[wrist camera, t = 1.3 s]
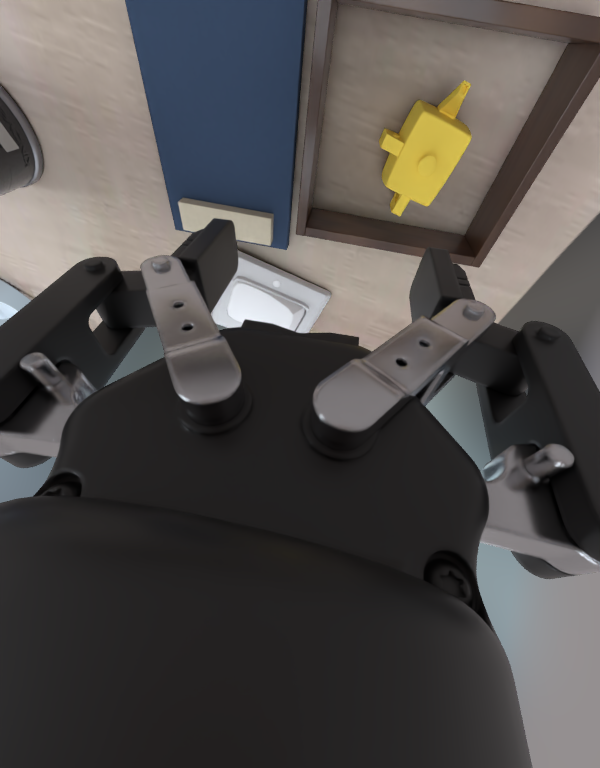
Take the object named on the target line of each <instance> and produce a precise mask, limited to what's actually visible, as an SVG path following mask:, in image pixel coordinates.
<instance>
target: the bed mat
mask: <svg viewBox="0 0 600 768" xmlns="http://www.w3.org/2000/svg"><path fill="white" fill-rule="evenodd" d="M125 2H126V7H127V11H128V16H129V20H130V25H131V29H132V34H133V38H134V43H135V47H136V52H137V57H138V61H139V66H140V70H141V75H142V79H143V84H144V88H145V93H146V97H147V102H148V106H149V111H150V115H151V120H152V125H153V129H154V134H155V138H156V143H157V147H158V152H159V156H160V161H161V165H162V170H163V174H164V179H165V184H166V188H167V193H168V197H169V202H170V206H171V211H172V215H173V220H174V224H175V229H176V230H180V231H186V232H191V233H194V232H196V231H199V230H201V229H204V228H205V227H206V226H207V225H208V224H209V223H210V222H211V220H212V219H213V218H218V219H225V220H232V221H233V223H234V226H235V234H236V241H240V242H246V243H251V244H257V245H262V246H268V247H273V248H279V249H284V250H287V248H288V245H289V233H290V220H291V207H292V194H293V181H294V168H295V155H296V142H297V129H298V116H299V103H300V90H301V77H302V64H303V51H304V38H305V25H306V12H307V0H125Z"/></svg>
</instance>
